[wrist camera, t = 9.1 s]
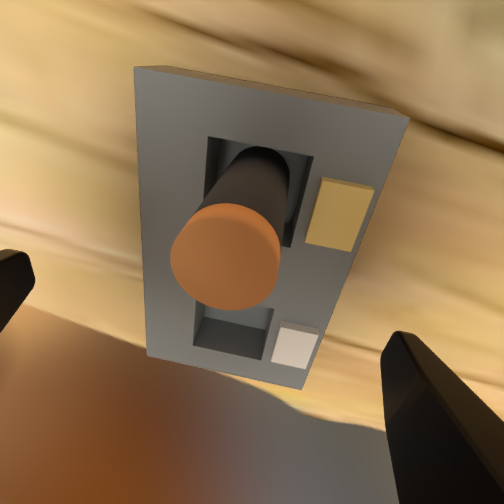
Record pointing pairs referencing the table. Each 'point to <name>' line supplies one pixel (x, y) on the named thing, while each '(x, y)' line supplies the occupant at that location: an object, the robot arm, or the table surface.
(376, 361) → the table surface
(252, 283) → the plug
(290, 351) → the port block
